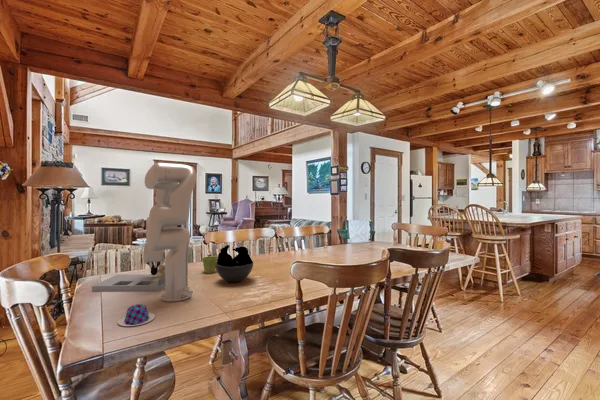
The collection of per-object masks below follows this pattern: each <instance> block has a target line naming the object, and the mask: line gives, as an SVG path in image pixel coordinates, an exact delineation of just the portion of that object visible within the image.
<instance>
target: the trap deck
mask: <svg viewBox="0 0 600 400" xmlns="http://www.w3.org/2000/svg"><path fill="white" fill-rule="evenodd" d="M162 290H165V276H163V277H161V276H157V275H151V273H150V274H149V273H147V274H145V273H144V274H139V273H134V274H132V273H131V274H130V273H129V274H125V273H123V274H121V273H119V274H115V275H113V276H111V277H109V278H107V279H104V280H101V281H100V282H97V283H96V284H94V285H92V286H91V292H161V291H162Z"/></svg>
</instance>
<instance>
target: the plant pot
mask: <svg viewBox="0 0 600 400" xmlns="http://www.w3.org/2000/svg"><path fill="white" fill-rule="evenodd" d="M217 258H218V256H214V255H213V256H211V255H210V256H203V257H201V260H202V264H203V270H204V273H205V274H214V273H216V267H215V263H216V262H217Z"/></svg>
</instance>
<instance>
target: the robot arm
mask: <svg viewBox="0 0 600 400" xmlns="http://www.w3.org/2000/svg"><path fill="white" fill-rule="evenodd" d="M196 182H197V173H196V170H195V168H194V167H193V166H191V165H188V164H184V163H172V162H171V163H170V162H169V163H168V162H155V163H153V164H152V166H151V167H150V168H148V170H147V172H146V174H145V177H144V186H145V188H146V189H149V190H156V194H155V197H154V202H155V203H156V204H155V205H153V206H152V207H151V209H150V210H149V213H148V214H149V215H148V217H146V220H145V221H146V222H145V223H146V225H145V226H146V229H145V234H146V237H145V240H146V241H145V243H144V247H143V252H142V253H143V254H142V256H143V257H142V258H143V264H145V265H147V266H148V267H149V268H150V274H151V275H156V274H157V271H158V269H159V266H160V265H161V264H163V265H165V288H164V293H163V294H161V296H160V299H161V301H163V302H168V303H169V302H180V301H181V302H182V301H185V300H187V299H189V298H191V297H192V295H193V293H194V292H193V290H190V286H188V285H189V283H188V280H189V279H188V277H189V273H188V272H189V270H188V269H189V264H188V263H189V246H190V242H191V234H190V233H191V232H190V231H189V229H188V228H186V227H183V225H187V222H188V221H189V216H190V208H191V200H192V193H193V190H194V188H195V185H196ZM166 250H169V251H168V253H167V254H166Z"/></svg>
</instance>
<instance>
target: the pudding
mask: <svg viewBox="0 0 600 400" xmlns="http://www.w3.org/2000/svg"><path fill="white" fill-rule="evenodd" d="M125 314H126V315H125V316H122V317H121V318H120V319H118V321H117V325H119V326H122V327H134V326H135V327H136V326H139V325H140V326H141V325H144V324H146V323H147V324H148V323H149V322H151V321H153V320H154V319H155V316H156V315H155V313H152V312H149V311H148V309H147V306H146V305H144V304H134V305H131V306H130V307H128V308H127V310H126V313H125Z"/></svg>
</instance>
